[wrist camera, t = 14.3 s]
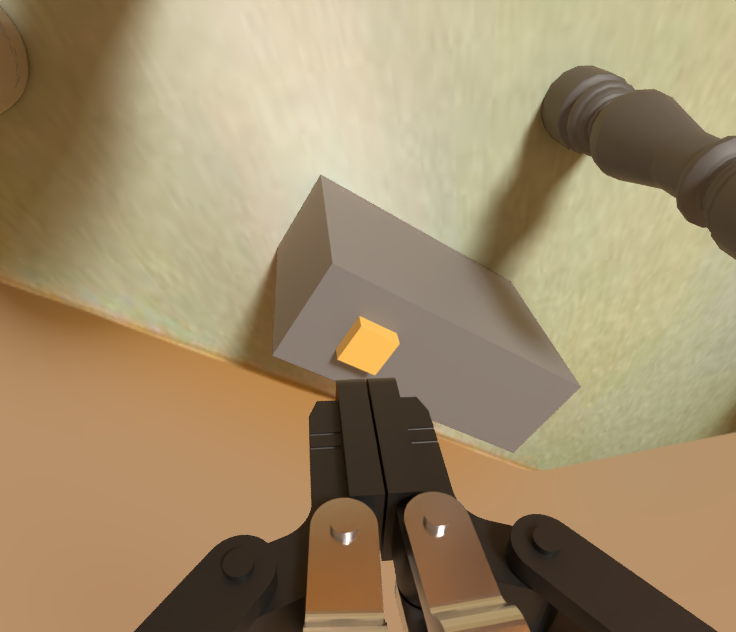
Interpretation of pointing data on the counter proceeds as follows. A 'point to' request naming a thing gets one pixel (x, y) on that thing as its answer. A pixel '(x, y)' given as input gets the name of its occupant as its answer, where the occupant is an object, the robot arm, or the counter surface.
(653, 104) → the candle holder
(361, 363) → the control panel
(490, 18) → the counter surface
